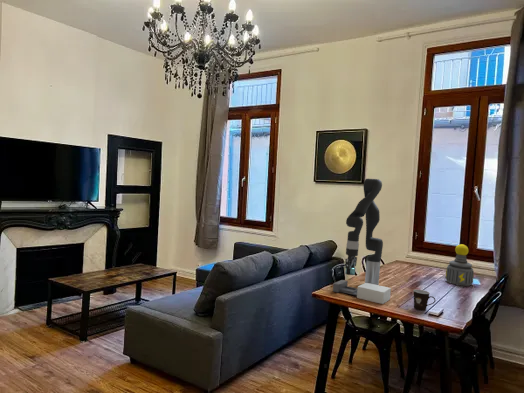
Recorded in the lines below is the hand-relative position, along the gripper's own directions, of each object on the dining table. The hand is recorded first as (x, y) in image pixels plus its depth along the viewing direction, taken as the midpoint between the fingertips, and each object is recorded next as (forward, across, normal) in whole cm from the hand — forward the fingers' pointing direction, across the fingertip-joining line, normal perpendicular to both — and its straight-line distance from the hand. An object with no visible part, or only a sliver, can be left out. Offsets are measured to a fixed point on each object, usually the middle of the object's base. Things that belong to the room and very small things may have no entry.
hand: (350, 273), depth 243 cm
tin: (0, 0, 0) cm, 0 cm away
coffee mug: (+12, -1, +44) cm, 46 cm away
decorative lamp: (+11, -96, +50) cm, 109 cm away
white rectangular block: (+12, 0, +16) cm, 20 cm away
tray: (+12, 0, +1) cm, 12 cm away
